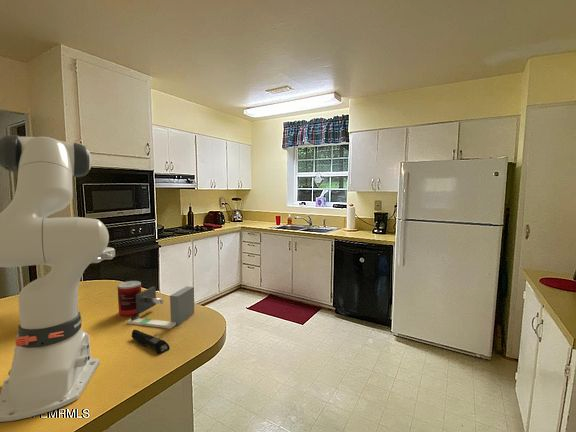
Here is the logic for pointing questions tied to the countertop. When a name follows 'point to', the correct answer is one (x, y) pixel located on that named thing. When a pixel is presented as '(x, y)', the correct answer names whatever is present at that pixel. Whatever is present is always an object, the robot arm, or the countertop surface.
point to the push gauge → (173, 310)
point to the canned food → (128, 297)
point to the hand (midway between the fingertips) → (105, 258)
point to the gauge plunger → (146, 301)
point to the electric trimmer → (150, 341)
